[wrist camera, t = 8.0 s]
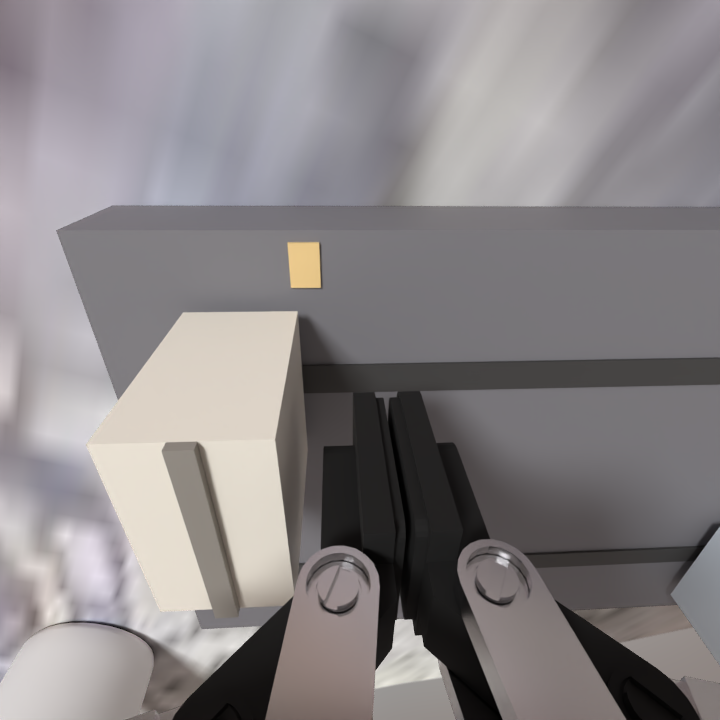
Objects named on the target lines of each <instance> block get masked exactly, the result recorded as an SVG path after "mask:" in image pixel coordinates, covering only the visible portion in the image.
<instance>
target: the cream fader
mask: <svg viewBox="0 0 720 720" xmlns="http://www.w3.org/2000/svg"><path fill="white" fill-rule="evenodd" d="M86 446H87V448H88V450H89V453H90V455H91V457H92V459H93V462H94V464H95V466H96V468H97V471H98V473H99V475H100V477H101V479H102V482H103V484H104V486H105V488H106V491H107V493H108V495H109V497H110V500H111V502H112V504H113V506H114V509H115V511H116V513H117V515H118V518H119V520H120V522H121V524H122V526H123V529H124V531H125V533H126V535H127V538H128V540H129V542H130V544H131V547H132V549H133V551H134V553H135V556H136V558H137V560H138V562H139V565H140V567H141V569H142V571H143V574H144V576H145V578H146V580H147V582H148V585H149V587H150V589H151V591H152V594H153V596H154V598H155V600H156V603H157V605H158V607H159V609H160V612H166V611H187V610H207V609H212V610H213V613H214V616H215V618H233V617H238V616H239V611H240V608H249V607H269V606H283V605H284V604H286V603H287V602H288V601H289V600H290V599H291V598H292V597H293V596H294V592H295V587H296V583H297V579H298V571H299V558H300V545H301V532H302V518H303V505H304V492H305V479H306V466H307V453H308V446H307V432H306V419H305V405H304V391H303V377H302V363H301V349H300V335H299V321H298V311H269V312H183V313H182V315H181V316H180V317H179V319H178V320H177V321H176V323H175V324H174V326H173V327H172V328H171V330H170V331H169V332H168V334H167V335H166V336H165V338H164V339H163V340H162V342H161V343H160V345H159V346H158V347H157V349H156V350H155V351H154V353H153V354H152V355H151V357H150V358H149V359H148V361H147V362H146V364H145V365H144V366H143V368H142V369H141V370H140V372H139V373H138V374H137V376H136V377H135V378H134V380H133V381H132V383H131V384H130V385H129V387H128V388H127V389H126V391H125V392H124V393H123V395H122V396H121V397H120V399H119V400H118V402H117V403H116V404H115V406H114V407H113V408H112V410H111V411H110V412H109V414H108V415H107V417H106V418H105V419H104V421H103V422H102V423H101V425H100V426H99V427H98V429H97V430H96V431H95V433H94V434H93V436H92V437H91V438H90V440H89V441H88V442H87V444H86Z"/></svg>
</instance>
